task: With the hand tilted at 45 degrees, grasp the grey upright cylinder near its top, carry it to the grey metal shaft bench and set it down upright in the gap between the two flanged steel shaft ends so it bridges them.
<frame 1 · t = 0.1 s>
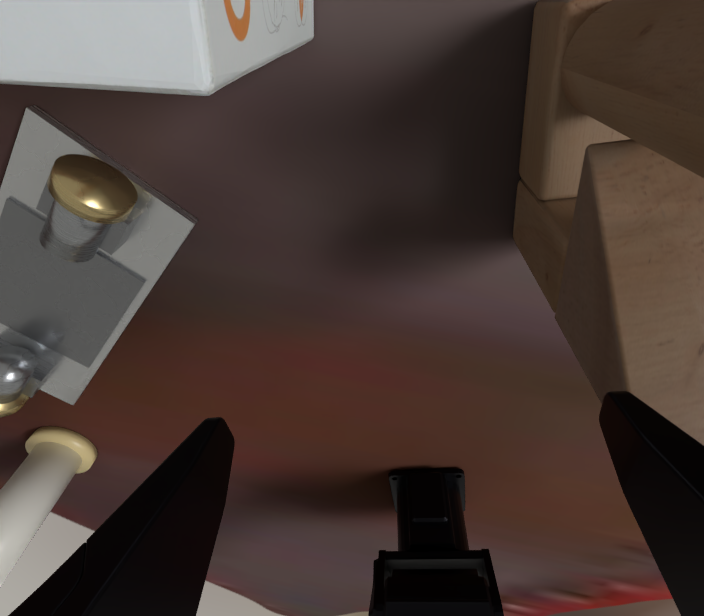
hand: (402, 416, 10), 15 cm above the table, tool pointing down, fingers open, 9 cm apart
grey upright cylinder: (65, 445, 37), on the table
wooden block: (558, 132, 20), on the table
shaft bench: (61, 288, 27), on the table
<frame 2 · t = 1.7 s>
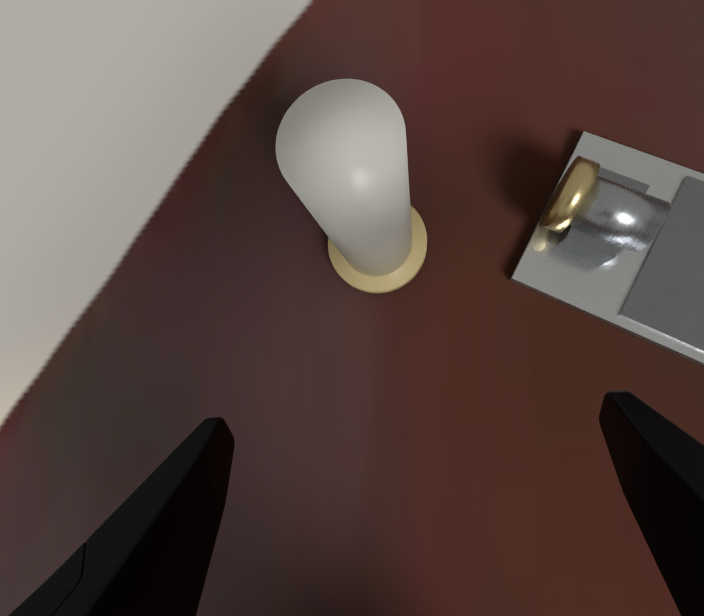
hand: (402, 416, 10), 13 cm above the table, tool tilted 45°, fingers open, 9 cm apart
grey upright cylinder: (378, 246, 24), on the table
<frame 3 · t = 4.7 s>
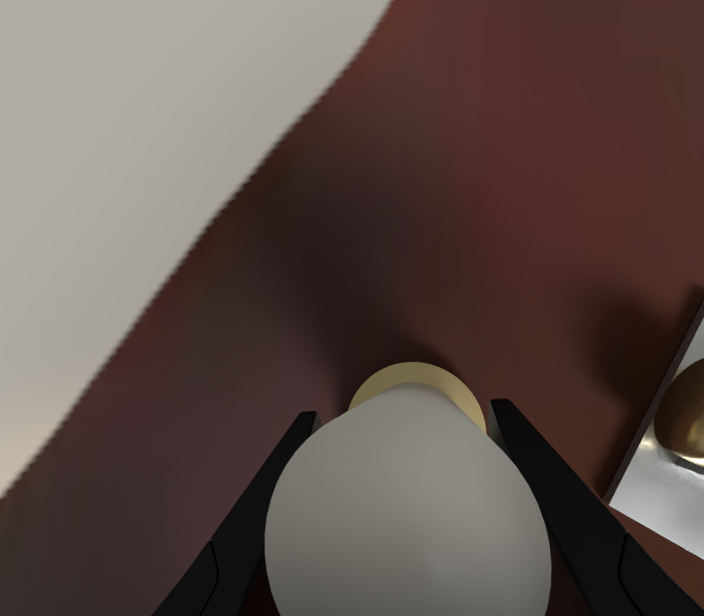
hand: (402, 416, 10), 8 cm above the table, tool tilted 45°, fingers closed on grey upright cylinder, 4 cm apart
grey upright cylinder: (414, 428, 18), on the table, touching gripper
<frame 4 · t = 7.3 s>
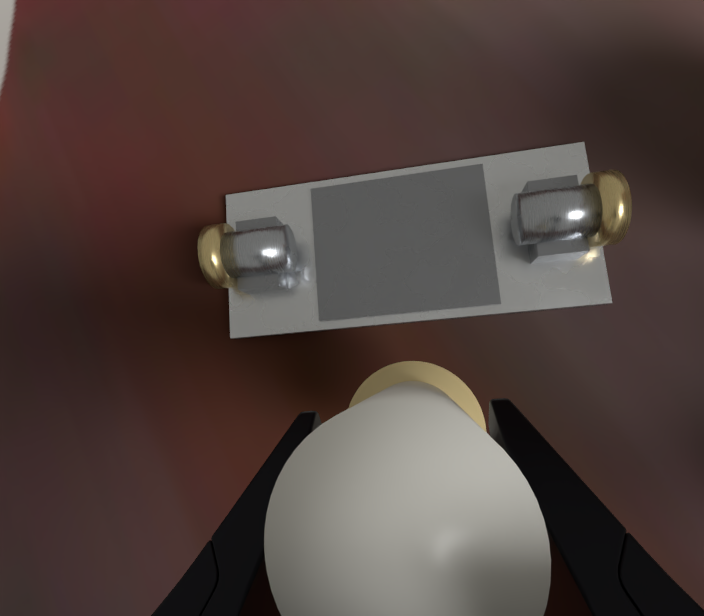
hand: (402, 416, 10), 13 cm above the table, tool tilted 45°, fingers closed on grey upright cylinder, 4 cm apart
grey upright cylinder: (414, 427, 18), point 5 cm above the table, touching gripper
shaft bench: (400, 246, 24), on the table
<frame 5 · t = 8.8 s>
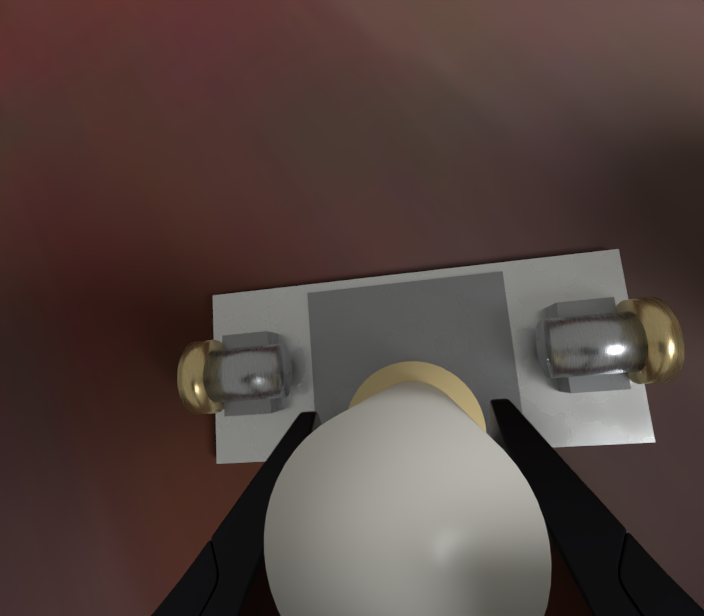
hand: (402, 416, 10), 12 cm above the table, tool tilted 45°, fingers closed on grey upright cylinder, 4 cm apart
grey upright cylinder: (414, 428, 17), point 3 cm above the table, touching gripper
shaft bench: (409, 360, 21), on the table
when the fingers open (10 cm above the table, at t = 9.9 s): grey upright cylinder drops 2 cm, resting on shaft bench.
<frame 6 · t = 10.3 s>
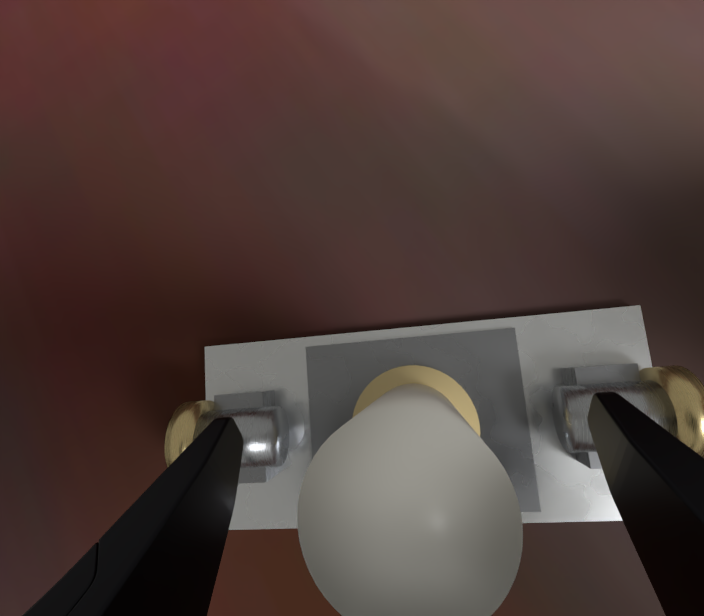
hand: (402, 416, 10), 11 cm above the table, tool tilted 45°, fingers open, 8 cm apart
grey upright cylinder: (414, 426, 19), point 1 cm above the table, touching shaft bench
shaft bench: (415, 421, 20), on the table
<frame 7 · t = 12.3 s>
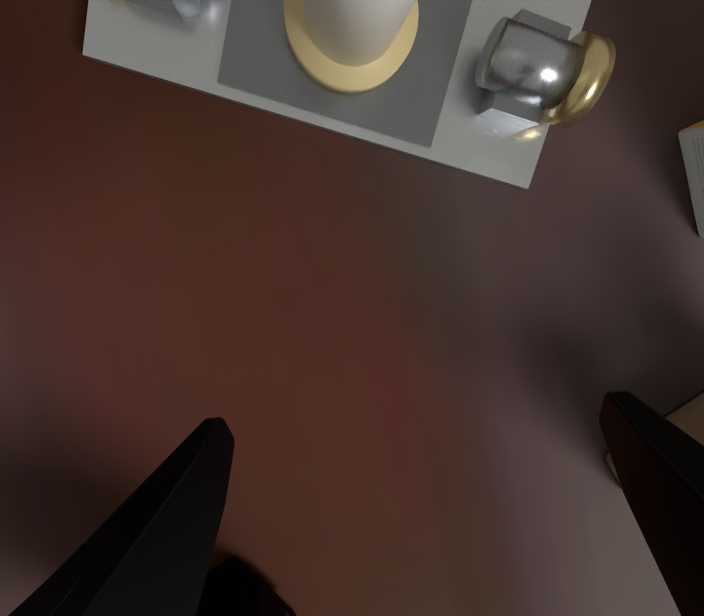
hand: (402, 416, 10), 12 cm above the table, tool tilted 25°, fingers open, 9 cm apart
grey upright cylinder: (349, 23, 18), point 1 cm above the table, touching shaft bench
wooden block: (680, 426, 26), on the table
shaft bench: (348, 27, 19), on the table
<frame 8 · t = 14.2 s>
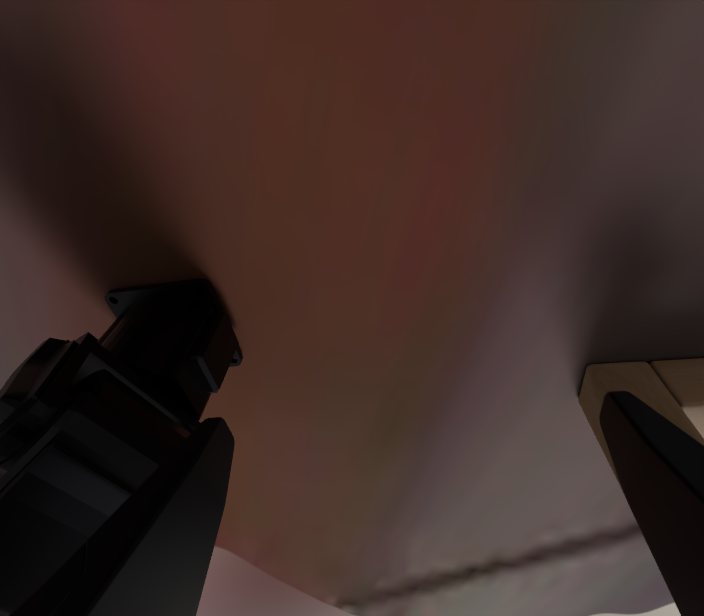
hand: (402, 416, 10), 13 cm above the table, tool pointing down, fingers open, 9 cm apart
wooden block: (669, 375, 26), on the table
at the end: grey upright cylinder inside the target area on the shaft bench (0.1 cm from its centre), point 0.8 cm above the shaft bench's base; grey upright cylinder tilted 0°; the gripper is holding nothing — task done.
